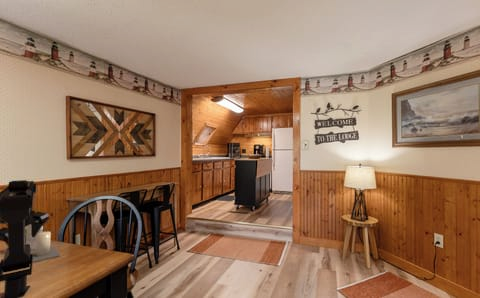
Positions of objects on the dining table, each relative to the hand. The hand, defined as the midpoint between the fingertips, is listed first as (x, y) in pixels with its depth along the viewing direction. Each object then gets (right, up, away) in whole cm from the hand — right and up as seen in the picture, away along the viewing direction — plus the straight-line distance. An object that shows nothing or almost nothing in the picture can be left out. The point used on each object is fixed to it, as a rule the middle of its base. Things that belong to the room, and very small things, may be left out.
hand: (22, 242), depth 99 cm
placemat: (-4, -12, +15) cm, 20 cm away
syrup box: (-17, -12, +24) cm, 32 cm away
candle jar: (-4, -12, +15) cm, 20 cm away
